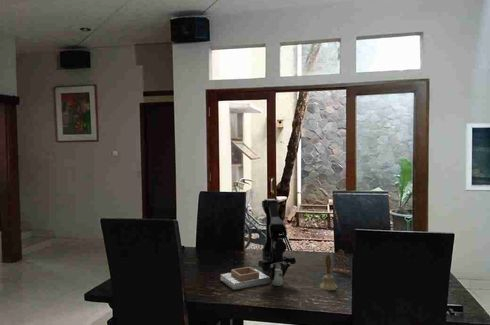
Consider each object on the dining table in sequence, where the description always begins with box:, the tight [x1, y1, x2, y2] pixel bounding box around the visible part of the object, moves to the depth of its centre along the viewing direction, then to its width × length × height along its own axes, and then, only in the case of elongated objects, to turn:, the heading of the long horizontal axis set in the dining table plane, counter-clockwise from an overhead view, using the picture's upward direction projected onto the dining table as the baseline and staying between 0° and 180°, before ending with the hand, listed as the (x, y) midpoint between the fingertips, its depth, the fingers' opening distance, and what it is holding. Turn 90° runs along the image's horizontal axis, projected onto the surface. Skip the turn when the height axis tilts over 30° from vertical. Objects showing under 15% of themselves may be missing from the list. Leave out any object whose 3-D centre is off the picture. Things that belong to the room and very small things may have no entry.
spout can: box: [271, 268, 284, 287], centre depth 200 cm, size 5×7×7 cm
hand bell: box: [319, 254, 338, 291], centre depth 196 cm, size 8×8×16 cm
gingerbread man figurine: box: [331, 249, 351, 275], centre depth 220 cm, size 9×4×12 cm, turn 60°
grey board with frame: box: [220, 266, 271, 291], centre depth 206 cm, size 20×16×6 cm
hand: (277, 279), depth 201 cm, fingers closed on spout can, 5 cm apart
